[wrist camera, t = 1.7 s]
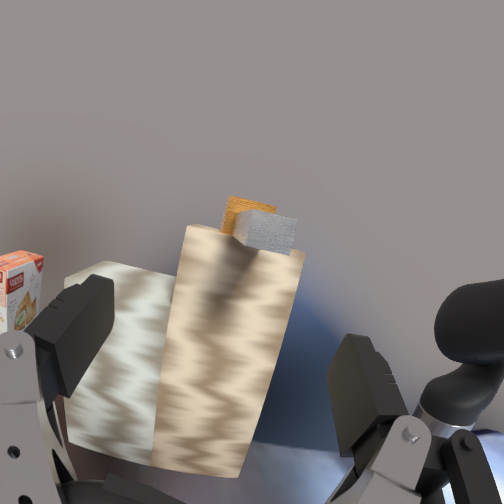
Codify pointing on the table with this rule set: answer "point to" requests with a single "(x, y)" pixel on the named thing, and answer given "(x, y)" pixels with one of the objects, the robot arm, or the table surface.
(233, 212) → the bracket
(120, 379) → the step stand
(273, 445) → the table surface
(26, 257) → the cracker box
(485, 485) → the robot arm
